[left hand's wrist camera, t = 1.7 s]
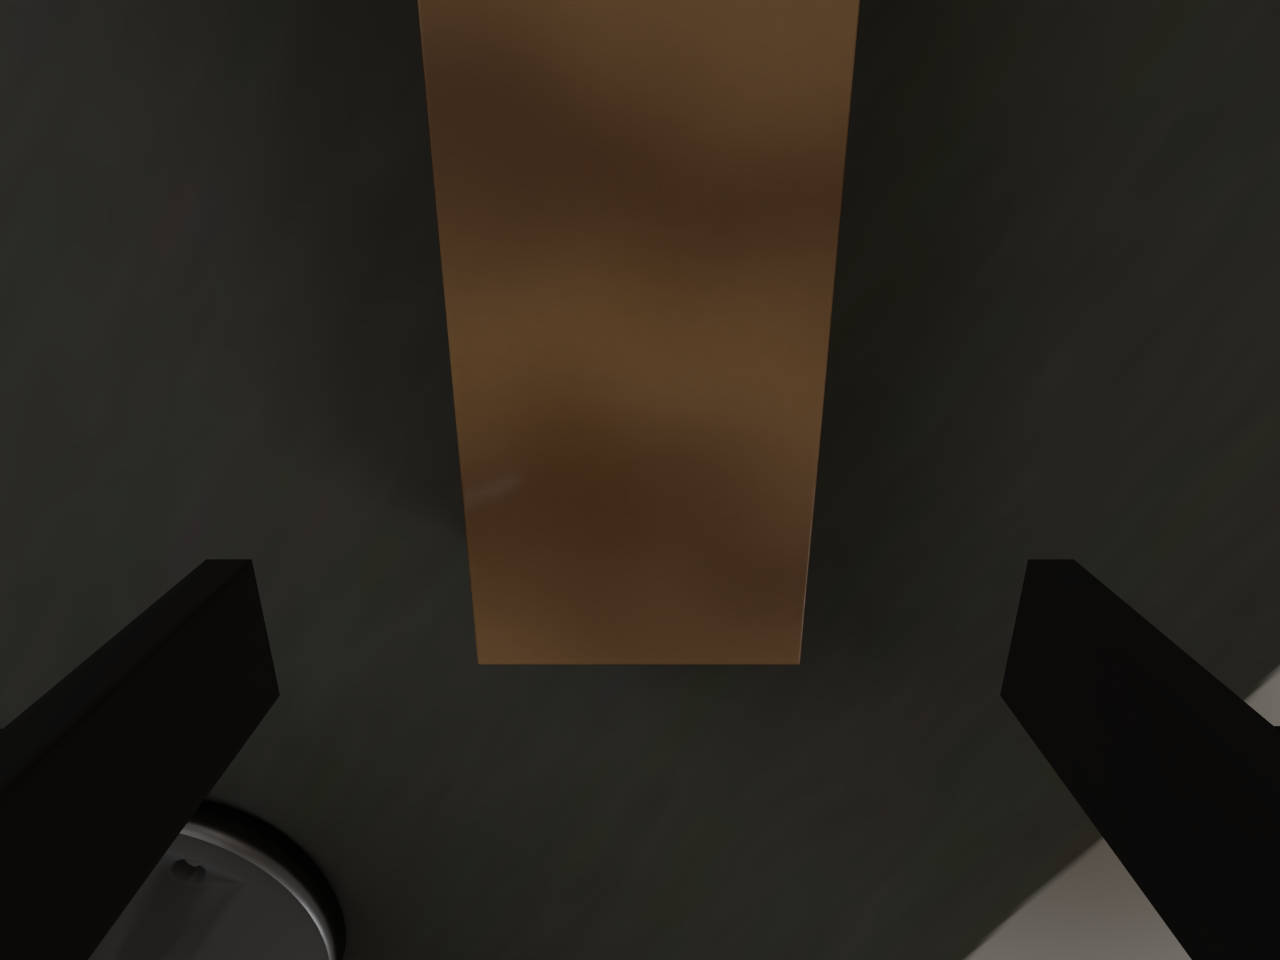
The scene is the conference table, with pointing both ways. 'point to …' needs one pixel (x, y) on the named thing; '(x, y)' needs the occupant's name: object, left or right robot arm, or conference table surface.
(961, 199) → the conference table surface
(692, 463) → the wide beam
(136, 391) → the conference table surface
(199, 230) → the conference table surface
